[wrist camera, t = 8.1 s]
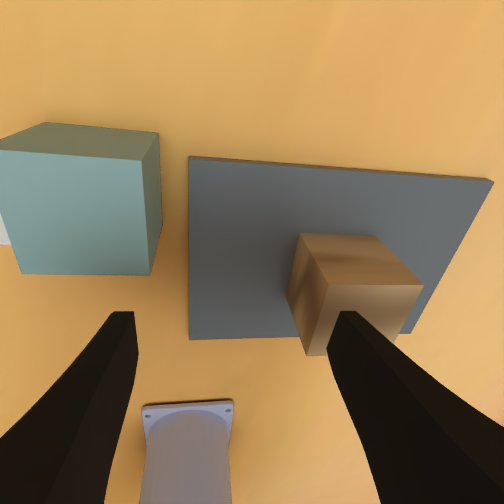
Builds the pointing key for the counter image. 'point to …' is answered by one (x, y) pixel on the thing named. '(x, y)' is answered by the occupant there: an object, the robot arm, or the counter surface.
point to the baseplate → (308, 221)
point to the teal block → (81, 199)
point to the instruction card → (3, 234)
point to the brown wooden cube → (347, 286)
